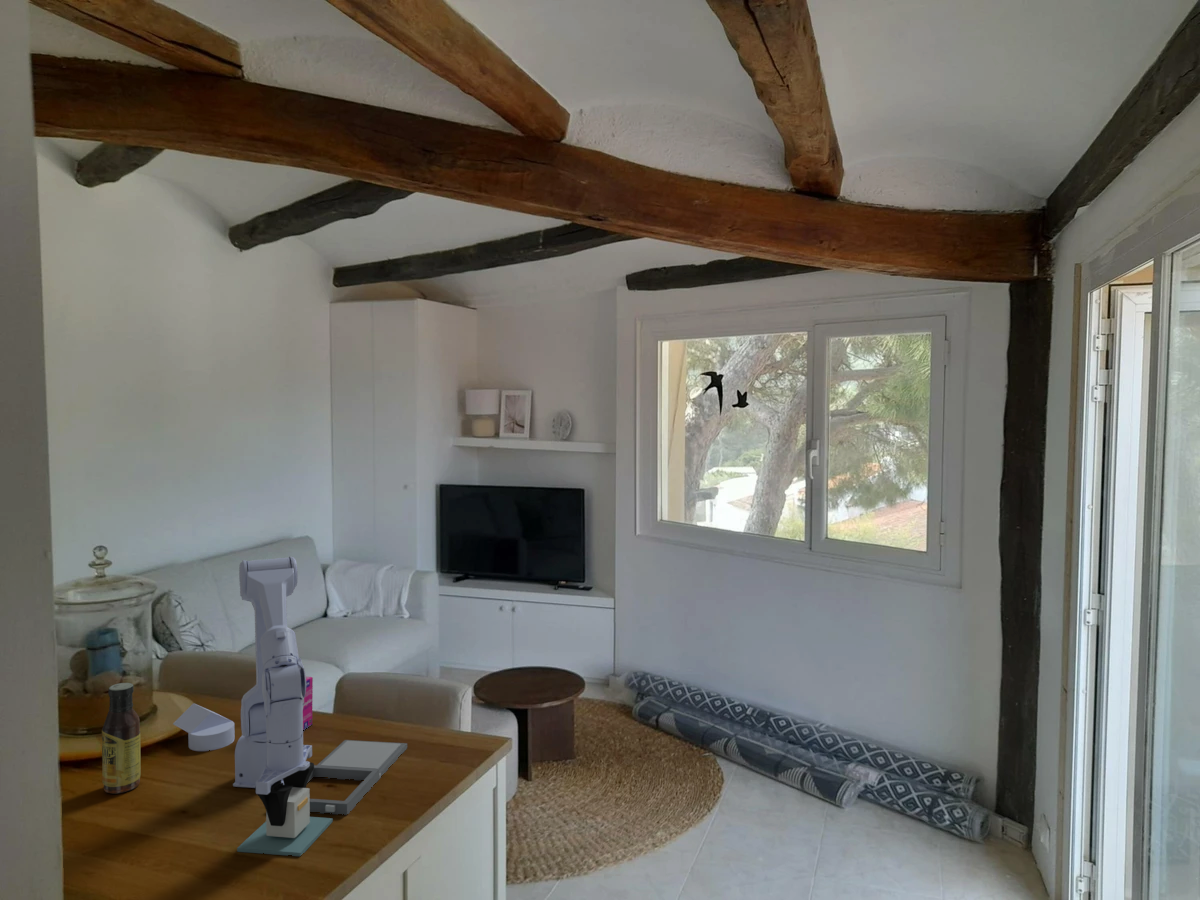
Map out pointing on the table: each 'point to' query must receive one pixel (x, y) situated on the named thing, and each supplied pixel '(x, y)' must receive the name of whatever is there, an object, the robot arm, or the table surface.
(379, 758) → the case
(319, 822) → the mat
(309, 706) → the supplement box
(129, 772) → the sauce bottle
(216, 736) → the wedge on round base
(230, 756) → the table surface
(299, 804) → the block
